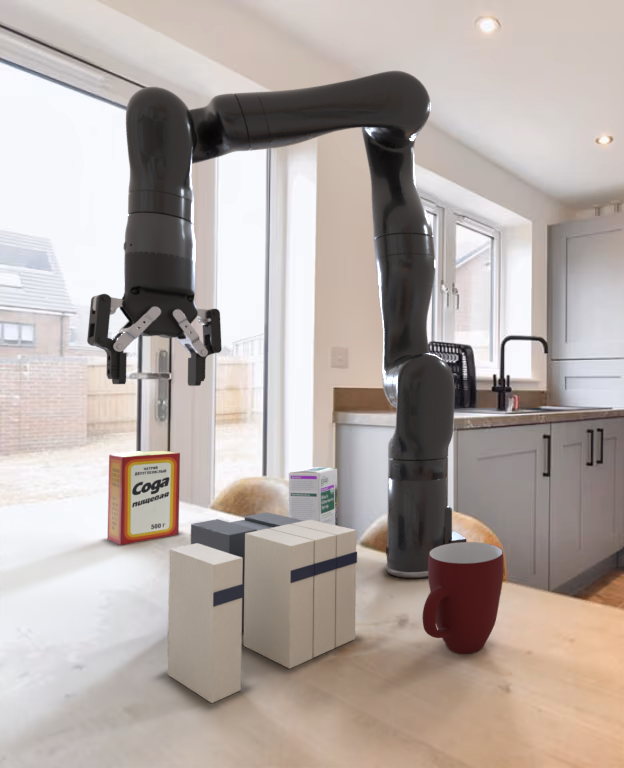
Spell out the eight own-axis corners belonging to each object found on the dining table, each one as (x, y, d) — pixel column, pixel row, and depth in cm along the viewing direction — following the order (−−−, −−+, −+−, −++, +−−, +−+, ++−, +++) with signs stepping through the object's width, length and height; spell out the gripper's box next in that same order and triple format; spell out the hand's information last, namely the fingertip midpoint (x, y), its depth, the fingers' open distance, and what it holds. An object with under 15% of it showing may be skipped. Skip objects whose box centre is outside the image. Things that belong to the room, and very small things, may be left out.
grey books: (266, 593, 73) (267, 509, 73) (306, 609, 68) (307, 518, 68) (189, 618, 65) (190, 523, 65) (228, 637, 60) (229, 535, 60)
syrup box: (319, 562, 87) (320, 471, 87) (287, 559, 88) (288, 470, 88) (338, 552, 92) (339, 467, 93) (307, 549, 94) (308, 466, 94)
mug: (470, 683, 50) (470, 575, 51) (398, 665, 54) (399, 564, 54) (514, 637, 60) (515, 546, 60) (451, 624, 63) (452, 538, 64)
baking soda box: (164, 529, 108) (165, 448, 108) (178, 534, 104) (180, 451, 104) (107, 539, 100) (109, 452, 100) (120, 545, 96) (122, 455, 97)
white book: (195, 663, 54) (197, 542, 54) (241, 690, 49) (243, 557, 49) (167, 674, 52) (169, 548, 52) (212, 704, 47) (214, 565, 47)
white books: (309, 620, 64) (310, 519, 65) (356, 639, 59) (357, 529, 60) (243, 645, 58) (244, 533, 58) (289, 669, 53) (291, 546, 53)
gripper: (105, 238, 60) (102, 383, 60) (232, 264, 72) (230, 385, 72) (81, 248, 65) (78, 384, 64) (204, 271, 76) (203, 386, 76)
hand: (158, 385), depth 68 cm, fingers open, 8 cm apart
